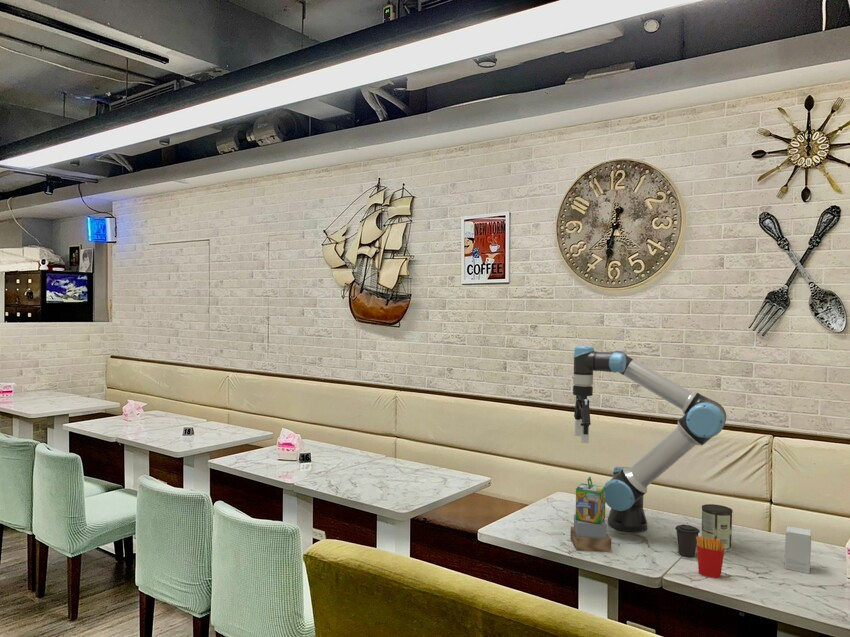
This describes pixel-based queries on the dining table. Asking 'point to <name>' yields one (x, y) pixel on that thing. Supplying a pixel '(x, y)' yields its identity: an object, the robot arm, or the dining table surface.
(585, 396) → the robot arm
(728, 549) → the coffee can
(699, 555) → the french fries
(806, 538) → the supplement box
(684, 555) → the coffee cup
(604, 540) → the walnut base block
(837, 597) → the dining table surface
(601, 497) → the chalk box
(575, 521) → the slate top block
